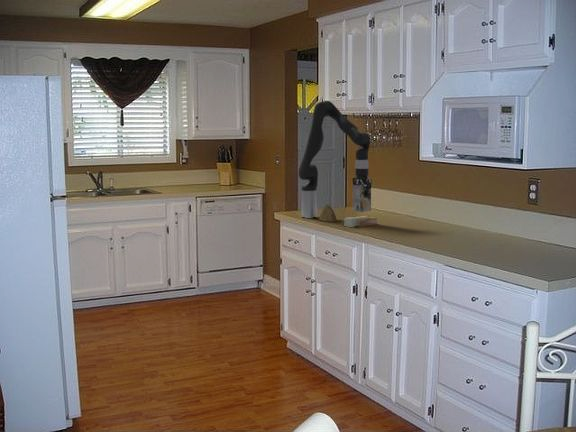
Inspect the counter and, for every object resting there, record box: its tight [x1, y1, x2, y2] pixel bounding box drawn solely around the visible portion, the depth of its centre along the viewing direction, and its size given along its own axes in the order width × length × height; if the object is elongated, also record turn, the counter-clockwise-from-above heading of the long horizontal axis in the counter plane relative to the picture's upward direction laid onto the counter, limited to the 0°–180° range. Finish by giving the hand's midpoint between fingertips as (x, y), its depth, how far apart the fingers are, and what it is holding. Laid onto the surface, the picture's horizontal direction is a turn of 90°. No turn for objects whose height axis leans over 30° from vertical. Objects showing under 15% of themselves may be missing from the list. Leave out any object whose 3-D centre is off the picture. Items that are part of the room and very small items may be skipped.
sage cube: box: [343, 216, 358, 228], centre depth 382 cm, size 5×5×5 cm
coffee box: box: [352, 183, 372, 213], centre depth 388 cm, size 9×6×16 cm
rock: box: [318, 204, 337, 222], centre depth 403 cm, size 11×9×10 cm
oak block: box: [352, 215, 378, 227], centre depth 390 cm, size 12×12×4 cm
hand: (362, 196), depth 388 cm, fingers closed on coffee box, 6 cm apart
